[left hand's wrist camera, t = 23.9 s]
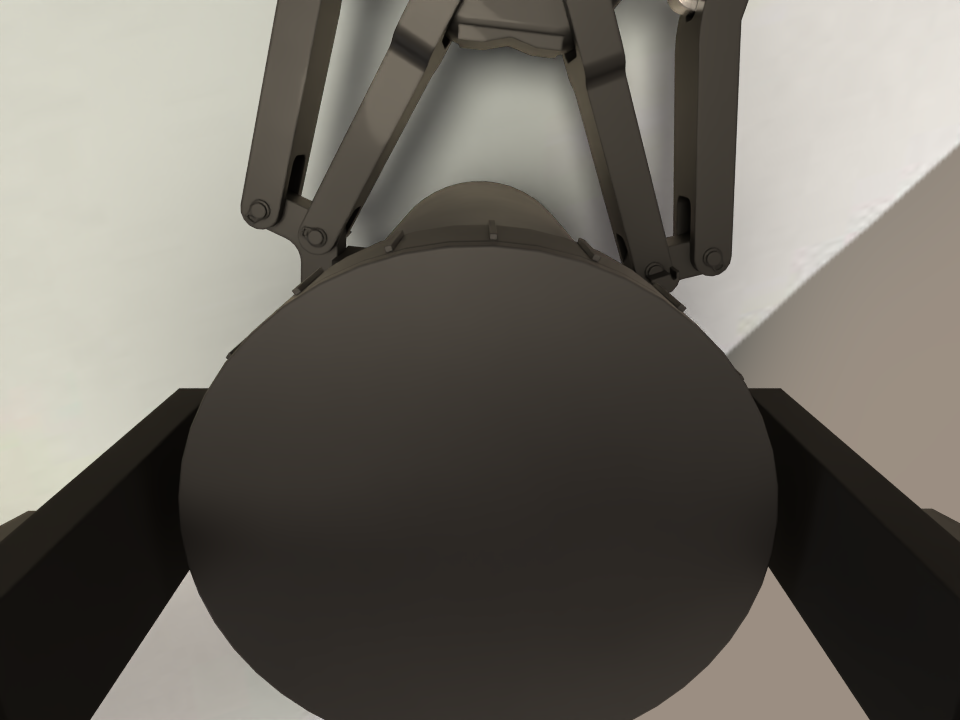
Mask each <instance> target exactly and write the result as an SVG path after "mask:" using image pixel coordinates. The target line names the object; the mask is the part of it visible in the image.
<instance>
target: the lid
mask: <svg viewBox="0 0 960 720" xmlns="http://www.w3.org/2000/svg"><path fill="white" fill-rule="evenodd" d="M292 292H293V293H294V294H295V295H293V296H292V297H291V298H290V299H289V300H288V301H286V302H285V303H284V304H283V305H282V306H281V307H280V308H279V309H277V310H276V311H275V312H274V313H273V314H272V315H271V316H269V317H268V318H267V319H266V320H265V321H264V322H263V323H262V324H260V325H259V326H258V327H257V328H256V329H255V330H254V331H252V332H251V333H250V335H249V336H248V337H247V338H245V339H244V340H243V341H242V342H241V343H240V344H239V345H237V346H236V347H235V348H234V349H233V350H232V351H231V352H230V353H229V354H228V355H227V357H226V358H227V359H228V360H227V361H226V362H225V363H224V365H223V367H222V368H221V370H220V371H219V373H218V374H217V376H216V378H215V379H214V381H213V382H212V384H211V385H210V387H209V389H208V390H207V392H206V393H205V395H204V397H203V400H202V402H201V404H200V407H199V409H198V411H197V414H196V416H195V418H194V420H193V423H192V425H191V427H190V431H189V435H188V439H187V443H186V446H185V450H184V454H183V458H182V462H181V472H180V483H179V494H178V503H179V519H180V532H181V537H182V541H183V546H184V550H185V555H186V560H187V564H188V566H189V569H190V572H191V574H192V577H193V580H194V582H195V585H196V588H197V590H198V593H199V595H200V597H201V599H202V601H203V602H204V604H205V606H206V608H207V610H208V612H209V613H210V615H211V617H212V619H213V621H214V623H215V624H216V625H217V627H218V628H219V629H220V631H221V632H222V633H223V635H224V636H225V638H226V639H227V640H228V642H229V643H230V644H231V646H232V647H233V648H234V650H235V651H236V652H237V653H238V654H239V655H240V656H241V657H242V658H243V659H244V660H245V661H246V662H247V663H248V664H249V665H250V667H251V668H252V669H253V670H254V671H255V672H256V673H257V674H259V675H260V676H261V677H262V678H263V679H265V680H266V681H267V682H268V683H269V684H271V685H272V686H273V687H274V688H275V689H277V690H278V691H279V692H280V693H281V694H283V695H284V696H286V697H287V698H289V699H290V700H292V701H294V702H295V703H297V704H298V705H300V706H301V707H303V708H304V709H306V710H307V711H309V712H311V713H313V714H315V715H316V716H318V717H320V718H322V719H324V720H633V719H635V718H637V717H639V716H641V715H642V714H644V713H646V712H648V711H650V710H651V709H653V708H655V707H657V706H658V705H660V704H661V703H662V702H664V701H665V700H667V699H668V698H669V697H671V696H672V695H674V694H675V693H676V692H678V691H679V690H681V689H682V688H684V687H685V686H686V685H687V684H688V683H689V682H690V681H691V680H693V679H694V678H695V677H696V676H697V675H698V674H699V673H700V672H701V671H703V670H704V669H705V668H706V667H707V666H708V665H709V664H710V663H711V662H712V661H713V659H714V658H715V657H716V656H717V655H718V654H719V653H720V651H721V650H722V649H723V648H724V647H725V646H726V645H727V643H728V642H729V641H730V640H731V638H732V637H733V635H734V634H735V632H736V631H737V629H738V628H739V626H740V625H741V623H742V622H743V620H744V619H745V617H746V616H747V614H748V612H749V610H750V608H751V606H752V604H753V602H754V600H755V598H756V596H757V594H758V592H759V590H760V588H761V586H762V583H763V580H764V577H765V574H766V571H767V568H768V565H769V562H770V559H771V556H772V552H773V546H774V540H775V534H776V528H777V522H778V482H777V475H776V468H775V461H774V454H773V449H772V446H771V443H770V440H769V437H768V433H767V430H766V427H765V424H764V421H763V417H762V415H761V413H760V411H759V409H758V407H757V405H756V403H755V401H754V399H753V397H752V395H751V393H750V391H749V389H748V387H747V385H746V384H745V382H744V381H743V380H744V378H743V376H742V375H741V374H740V373H739V372H738V371H737V370H736V369H735V368H734V367H733V365H732V364H731V362H730V361H729V359H728V358H727V357H726V355H725V354H724V352H723V351H722V350H721V349H720V348H719V347H718V346H717V345H716V344H715V343H714V342H713V341H712V340H711V339H710V338H709V337H708V336H707V335H706V334H705V333H704V332H703V331H702V330H701V329H700V328H699V327H698V325H697V324H696V323H694V322H693V321H692V320H691V319H690V318H689V317H688V316H687V315H685V314H684V313H683V312H684V311H685V309H686V307H685V306H684V305H682V304H681V303H680V302H679V301H678V300H677V299H675V298H674V297H673V296H672V295H671V294H670V293H668V292H667V291H666V290H665V289H664V288H663V287H661V286H660V285H659V284H658V283H657V282H655V283H654V284H653V286H652V285H651V284H649V283H648V282H647V281H646V280H644V279H643V278H642V277H640V276H639V275H638V274H637V273H635V272H634V271H633V270H631V269H630V268H628V267H626V266H624V265H623V264H621V263H619V262H617V261H616V260H614V259H612V258H610V257H609V256H607V255H605V254H603V253H602V252H600V251H597V250H595V249H593V248H592V247H591V246H590V245H589V244H588V243H587V242H586V241H585V240H584V239H581V238H579V240H578V242H575V241H572V240H570V239H567V238H564V237H560V236H556V235H552V234H548V233H544V232H540V231H536V230H532V229H526V228H517V227H509V226H500V225H496V223H495V220H489V222H488V225H453V226H446V227H440V228H433V229H427V230H420V231H415V232H412V233H408V234H405V235H404V232H403V230H400V231H397V232H396V233H395V234H394V236H393V237H392V238H391V239H388V240H385V241H381V242H379V243H376V244H374V245H372V246H370V247H367V248H365V249H363V250H361V251H359V252H356V253H354V254H352V255H350V256H348V257H346V258H344V259H343V260H341V261H339V262H338V263H336V264H335V265H333V266H331V267H330V268H328V269H327V270H325V271H324V270H323V269H322V268H321V267H320V268H319V269H317V270H316V271H315V272H314V273H312V274H311V275H310V276H309V277H308V278H307V279H305V280H304V281H303V282H302V283H301V284H299V285H298V286H297V287H296V288H295V289H294V290H292Z"/></svg>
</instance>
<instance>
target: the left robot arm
mask: <svg viewBox="0 0 960 720" xmlns="http://www.w3.org/2000/svg"><path fill="white" fill-rule="evenodd" d="M208 389H209V388H179V389H178V390H177V391H176V392H175V393H173V394H172V395H171V396H170V397H169V398H168V399H166V400H165V401H164V402H163V403H162V404H161V405H159V406H158V407H157V408H156V409H155V410H154V411H152V412H151V413H150V414H149V415H148V416H147V417H145V418H144V419H143V420H142V421H141V422H140V423H138V424H137V425H136V426H135V427H134V428H133V429H131V430H130V431H129V432H128V433H127V434H126V435H124V436H123V437H122V438H121V439H120V440H119V441H117V442H116V443H115V444H114V445H113V446H112V447H110V448H109V449H108V450H107V451H106V452H105V453H103V454H102V455H101V456H100V457H99V458H98V459H96V460H95V461H94V462H93V463H92V464H91V465H89V466H88V467H87V468H86V469H85V470H84V471H82V472H81V473H80V474H79V475H78V476H77V477H75V478H74V479H73V480H72V481H71V482H70V483H68V484H67V485H66V486H65V487H64V488H63V489H61V490H60V491H59V492H58V493H57V494H55V495H54V496H53V497H52V498H51V499H50V500H48V501H47V502H46V503H45V504H44V505H43V506H41V507H40V508H39V509H38V510H37V511H27V512H25V513H24V514H22V515H20V516H18V517H16V518H14V519H12V520H10V521H8V522H7V523H5V524H3V525H1V526H0V720H90V719H91V718H92V716H93V715H94V713H95V712H96V710H97V709H98V707H99V706H100V704H101V703H102V701H103V700H104V698H105V697H106V695H107V694H108V692H109V691H110V689H111V688H112V686H113V685H114V683H115V682H116V680H117V679H118V677H119V676H120V674H121V673H122V671H123V670H124V668H125V666H126V665H127V663H128V662H129V660H130V659H131V657H132V656H133V654H134V653H135V651H136V650H137V648H138V647H139V645H140V644H141V642H142V641H143V639H144V638H145V636H146V635H147V633H148V632H149V630H150V629H151V627H152V626H153V624H154V623H155V621H156V620H157V618H158V617H159V615H160V614H161V612H162V611H163V609H164V608H165V606H166V605H167V603H168V602H169V600H170V598H171V597H172V595H173V594H174V592H175V591H176V589H177V588H178V586H179V585H180V583H181V582H182V580H183V579H184V577H185V576H186V574H187V573H188V571H189V570H190V569H189V566H188V564H187V560H186V555H185V550H184V546H183V541H182V537H181V532H180V519H179V503H178V494H179V483H180V472H181V462H182V458H183V454H184V450H185V446H186V443H187V439H188V435H189V431H190V427H191V425H192V423H193V420H194V418H195V416H196V414H197V411H198V409H199V407H200V404H201V402H202V400H203V397H204V395H205V393H206V392H207V390H208ZM748 389H749V391H750V393H751V395H752V397H753V399H754V401H755V403H756V405H757V407H758V409H759V411H760V413H761V415H762V417H763V421H764V424H765V427H766V430H767V433H768V437H769V440H770V443H771V446H772V449H773V454H774V461H775V468H776V475H777V482H778V522H777V528H776V534H775V540H774V546H773V552H772V556H771V559H770V562H769V565H768V567H769V568H770V570H771V571H772V573H773V574H774V576H775V577H776V579H777V580H778V582H779V583H780V585H781V586H782V588H783V589H784V591H785V592H786V594H787V595H788V597H789V598H790V600H791V601H792V603H793V605H794V606H795V607H796V609H797V611H798V612H799V613H800V615H801V617H802V618H803V620H804V621H805V623H806V624H807V626H808V627H809V629H810V630H811V632H812V633H813V635H814V636H815V638H816V639H817V641H818V642H819V644H820V645H821V647H822V648H823V650H824V651H825V653H826V654H827V656H828V657H829V659H830V660H831V662H832V663H833V665H834V666H835V668H836V670H837V671H838V673H839V674H840V676H841V677H842V679H843V680H844V681H845V683H846V685H847V686H848V688H849V689H850V691H851V692H852V694H853V695H854V697H855V698H856V700H857V701H858V703H859V704H860V706H861V707H862V709H863V710H864V712H865V713H866V715H867V716H868V718H869V719H870V720H960V523H958V522H957V521H955V520H953V519H951V518H949V517H947V516H945V515H943V514H941V513H939V512H937V511H936V510H934V509H921V508H920V507H919V506H917V505H916V504H915V503H914V502H913V501H912V500H910V499H909V498H908V497H907V496H906V495H904V494H903V493H902V492H901V491H900V490H899V489H897V488H896V487H895V486H894V485H893V484H892V483H890V482H889V481H888V480H887V479H886V478H885V477H883V476H882V475H881V474H880V473H879V472H878V471H876V470H875V469H874V468H873V467H872V466H871V465H869V464H868V463H867V462H866V461H865V460H864V459H862V458H861V457H860V456H859V455H858V454H857V453H855V452H854V451H853V450H852V449H851V448H850V447H848V446H847V445H846V444H845V443H844V442H843V441H841V440H840V439H839V438H838V437H837V436H836V435H834V434H833V433H832V432H831V431H830V430H829V429H827V428H826V427H825V426H824V425H823V424H822V423H820V422H819V421H818V420H817V419H816V418H815V417H813V416H812V415H811V414H810V413H809V412H808V411H806V410H805V409H804V408H803V407H802V406H801V405H799V404H798V403H797V402H796V401H795V400H794V399H792V398H791V397H790V396H789V395H788V394H787V393H785V392H784V391H783V390H782V389H781V388H748Z"/></svg>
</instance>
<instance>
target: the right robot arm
mask: <svg viewBox="0 0 960 720" xmlns="http://www.w3.org/2000/svg"><path fill="white" fill-rule="evenodd" d="M620 1H621V0H409V2H408V4H407V6H406V8H405V10H404V12H403V14H402V16H401V18H400V20H399V22H398V24H397V27H396V29H395V31H394V34H393V38H392V42H391V45H390V47H389V49H388V51H387V53H386V55H385V57H384V59H383V61H382V63H381V65H380V67H379V69H378V71H377V73H376V75H375V77H374V79H373V81H372V83H371V85H370V87H369V89H368V91H367V93H366V95H365V97H364V99H363V101H362V103H361V105H360V107H359V109H358V111H357V113H356V115H355V117H354V119H353V121H352V123H351V125H350V127H349V129H348V131H347V133H346V135H345V137H344V139H343V141H342V143H341V145H340V147H339V149H338V151H337V153H336V155H335V157H334V159H333V161H332V163H331V165H330V167H329V169H328V171H327V173H326V175H325V177H324V179H323V181H322V183H321V185H320V187H319V189H318V191H317V193H316V195H315V197H314V199H313V201H310V200H308V199H306V198H304V197H302V196H301V195H302V190H303V185H304V180H305V176H306V171H307V166H308V161H309V157H310V152H311V147H312V142H313V138H314V133H315V128H316V124H317V119H318V114H319V109H320V105H321V100H322V95H323V90H324V86H325V81H326V76H327V71H328V67H329V62H330V57H331V53H332V48H333V43H334V38H335V34H336V29H337V24H338V19H339V15H340V8H341V2H342V0H277V6H276V12H275V17H274V23H273V28H272V34H271V39H270V45H269V50H268V56H267V62H266V67H265V73H264V78H263V84H262V89H261V95H260V100H259V106H258V112H257V117H256V123H255V128H254V134H253V139H252V145H251V150H250V156H249V162H248V167H247V173H246V178H245V184H244V189H243V195H242V200H241V214H242V216H243V218H244V220H245V221H246V222H247V223H248V224H249V225H250V226H252V227H254V228H256V229H267V230H269V231H272V232H274V233H276V234H278V235H280V236H282V237H284V238H286V239H288V240H290V241H291V242H292V243H293V244H294V245H295V246H296V248H297V249H298V251H299V254H300V256H301V283H302V282H303V281H304V280H305V279H307V278H308V277H309V276H310V275H311V274H312V273H314V272H315V271H316V270H317V269H319V268H320V267H321V268H322V269H323V270H324V271H325V270H327V269H328V268H330V267H331V266H333V265H335V264H336V263H338V262H339V261H341V260H343V259H344V258H346V257H348V256H350V255H352V254H354V253H356V252H359V251H361V250H363V249H365V248H364V247H354V246H348V247H347V248H346V238H347V237H348V236H349V234H350V233H351V231H350V230H351V228H352V226H353V224H354V222H355V220H356V218H357V216H358V215H359V213H360V211H361V209H362V207H363V205H364V203H365V201H366V199H367V198H368V196H369V194H370V192H371V190H372V188H373V186H374V184H375V182H376V181H377V179H378V177H379V175H380V173H381V171H382V169H383V167H384V165H385V164H386V162H387V160H388V158H389V156H390V154H391V152H392V150H393V149H394V147H395V145H396V143H397V141H398V139H399V137H400V135H401V133H402V132H403V130H404V128H405V126H406V124H407V122H408V120H409V118H410V116H411V115H412V113H413V111H414V109H415V107H416V105H417V103H418V101H419V99H420V98H421V96H422V94H423V92H424V90H425V88H426V86H427V84H428V82H429V81H430V79H431V77H432V75H433V74H434V72H435V71H436V69H437V68H438V66H439V65H440V63H441V61H442V59H443V57H444V55H445V54H446V52H447V50H448V48H449V46H450V44H451V42H452V41H453V42H455V43H458V44H459V46H460V48H469V49H478V50H487V49H492V48H498V47H504V46H510V47H512V48H514V49H517V50H519V51H521V52H524V53H526V54H528V55H531V56H538V57H546V58H555V57H556V56H557V55H562V56H563V60H564V63H565V67H566V71H567V74H568V78H569V81H570V83H571V86H572V87H573V89H574V92H575V95H576V99H577V102H578V106H579V110H580V113H581V117H582V121H583V124H584V128H585V131H586V135H587V139H588V142H589V146H590V150H591V153H592V157H593V161H594V164H595V168H596V172H597V175H598V179H599V183H600V186H601V190H602V193H603V197H604V201H605V204H606V208H607V212H608V215H609V219H610V223H611V226H612V230H613V234H614V237H615V241H616V245H617V248H618V252H619V255H620V259H621V263H622V264H623V265H624V266H626V267H628V268H630V269H631V270H633V271H634V272H635V273H637V274H638V275H639V276H640V277H642V278H643V279H644V280H646V281H647V282H648V283H649V284H651V285H652V286H653V284H654V283H655V282H657V283H658V284H659V285H660V286H661V287H663V288H664V289H665V290H666V291H667V292H668V293H670V292H672V291H673V290H674V289H675V287H676V286H677V285H678V282H679V280H681V279H685V278H689V277H693V276H697V275H702V274H704V275H705V276H715V275H718V274H720V273H722V272H723V271H725V270H726V268H727V267H728V265H729V264H730V261H731V256H732V233H733V209H734V184H735V160H736V136H737V112H738V88H739V63H740V39H741V20H742V17H743V14H744V12H745V9H746V6H747V3H748V0H667V1H668V4H669V6H670V8H671V9H672V10H673V11H674V12H676V13H678V14H680V18H679V22H678V28H677V34H676V44H675V96H674V206H673V236H671V237H667V238H666V236H665V232H664V228H663V224H662V220H661V216H660V212H659V208H658V204H657V200H656V196H655V192H654V188H653V183H652V179H651V175H650V171H649V167H648V163H647V159H646V155H645V151H644V147H643V143H642V139H641V135H640V131H639V127H638V123H637V118H636V114H635V110H634V106H633V102H632V98H631V94H630V90H629V86H628V82H627V78H626V73H625V63H626V62H625V54H624V49H623V45H622V40H621V36H620V32H619V28H618V24H617V20H616V16H615V12H614V8H615V7H616V6H617V5H618V4H619V3H620Z"/></svg>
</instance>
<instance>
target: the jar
mask: <svg viewBox="0 0 960 720" xmlns="http://www.w3.org/2000/svg"><path fill="white" fill-rule="evenodd" d="M489 220H495V223H496V225H500V226H509V227H517V228H526V229H532V230H536V231H540V232H544V233H548V234H552V235H556V236H560V237H564V238H567V239H570V240H572V241H574V240H573V239H572V238H571V237H570V235H569V234H568V233H567V232H566V231H565V230H564V228H563V227H562V226H561V225H560V224H559V223H558V221H557V220H556V219H555V218H554V217H553V216H552V214H551V213H550V212H549V211H548V210H547V209H546V208H545V207H544V206H543V205H542V204H540V203H539V202H538V201H536V200H535V199H534V198H532V197H531V196H529V195H527V194H526V193H524V192H522V191H520V190H518V189H515V188H513V187H511V186H507V185H503V184H500V183H493V182H486V181H476V182H465V183H459V184H455V185H452V186H448V187H446V188H443V189H441V190H439V191H437V192H435V193H433V194H431V195H430V196H428V197H426V198H425V199H423V200H422V201H421V202H420V203H419V204H417V205H416V206H415V207H414V208H413V209H412V210H411V211H410V212H409V213H408V214H407V215H406V216H405V218H404V219H403V220H402V221H401V222H400V223H399V225H398V226H397V227H396V228H395V229H394V230H393V231H392V233H391V234H390V235H389V236H388V237H387V238H386V240H388V239H391V238H392V237H393V236H394V234H395V233H396V232H397V231H400V230H403V232H404V235H405V234H408V233H412V232H415V231H420V230H427V229H433V228H440V227H446V226H453V225H488V222H489Z"/></svg>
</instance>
